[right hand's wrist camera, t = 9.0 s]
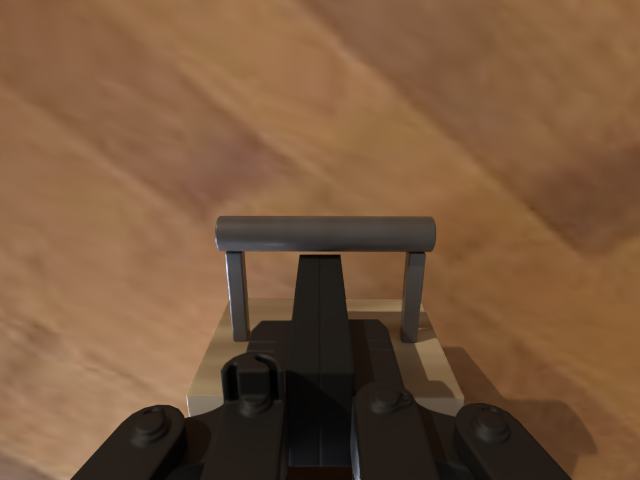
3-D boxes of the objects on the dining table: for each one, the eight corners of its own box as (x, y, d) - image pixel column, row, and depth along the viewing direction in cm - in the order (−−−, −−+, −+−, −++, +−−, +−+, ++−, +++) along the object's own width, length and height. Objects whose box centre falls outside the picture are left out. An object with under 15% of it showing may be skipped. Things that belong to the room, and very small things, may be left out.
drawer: (220, 194, 17) (163, 251, 11) (430, 195, 17) (488, 252, 11) (249, 514, 24) (224, 656, 18) (398, 516, 24) (423, 659, 18)
